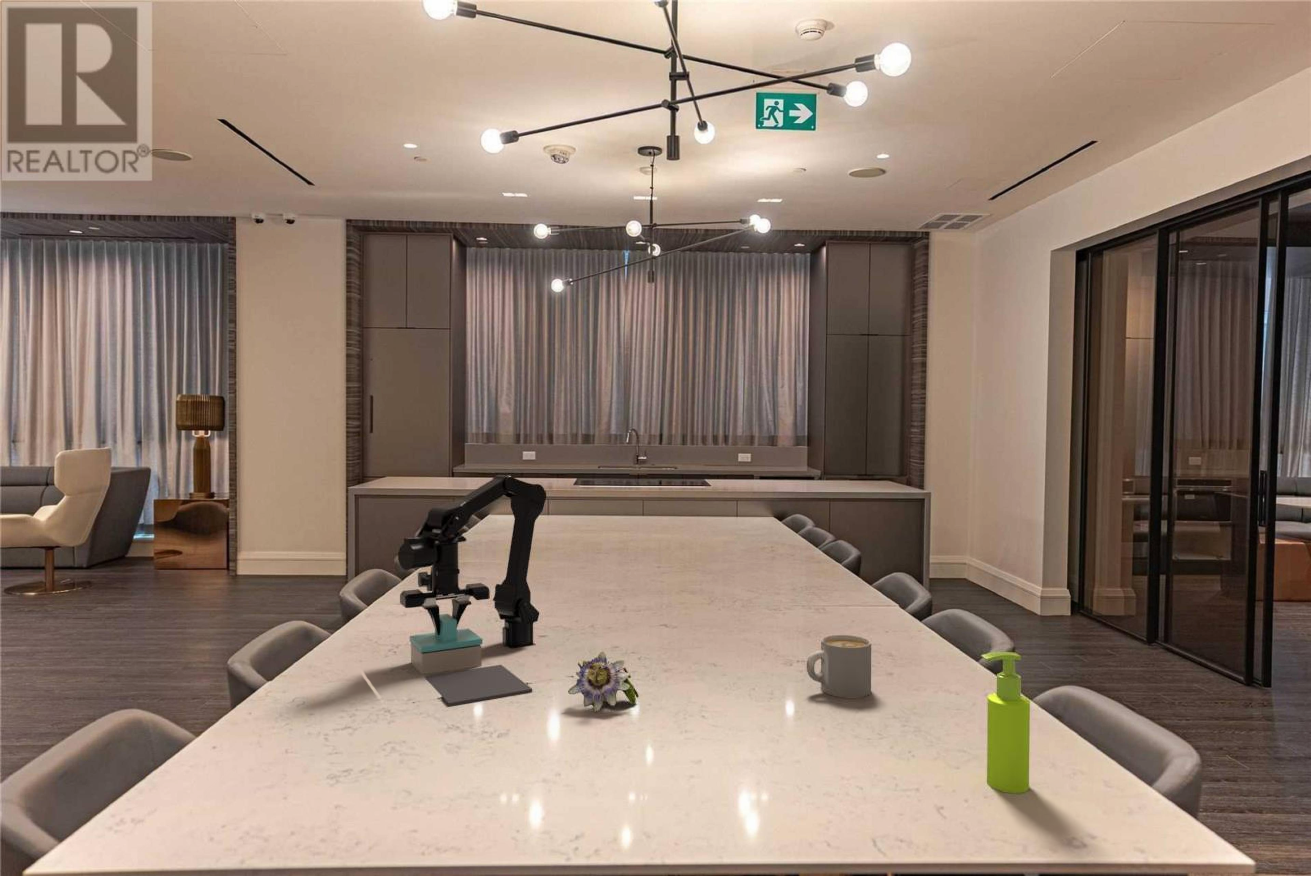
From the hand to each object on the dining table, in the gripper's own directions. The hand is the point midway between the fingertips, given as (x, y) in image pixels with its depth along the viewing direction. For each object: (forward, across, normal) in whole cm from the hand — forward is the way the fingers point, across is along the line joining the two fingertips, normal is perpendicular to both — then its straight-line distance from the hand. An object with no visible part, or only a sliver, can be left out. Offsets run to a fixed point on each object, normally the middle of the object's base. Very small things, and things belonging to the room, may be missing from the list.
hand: (445, 633), depth 186 cm
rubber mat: (+7, -2, +16) cm, 18 cm away
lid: (+3, 0, 0) cm, 3 cm away
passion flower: (+8, -20, +39) cm, 45 cm away
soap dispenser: (+8, -57, +101) cm, 116 cm away
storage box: (+7, 0, 0) cm, 7 cm away
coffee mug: (+8, -65, +55) cm, 85 cm away
